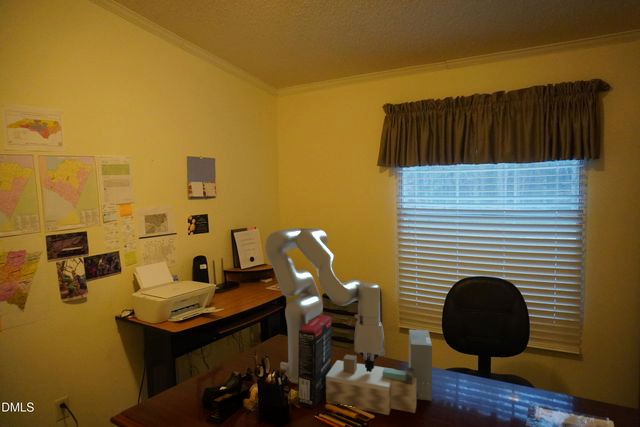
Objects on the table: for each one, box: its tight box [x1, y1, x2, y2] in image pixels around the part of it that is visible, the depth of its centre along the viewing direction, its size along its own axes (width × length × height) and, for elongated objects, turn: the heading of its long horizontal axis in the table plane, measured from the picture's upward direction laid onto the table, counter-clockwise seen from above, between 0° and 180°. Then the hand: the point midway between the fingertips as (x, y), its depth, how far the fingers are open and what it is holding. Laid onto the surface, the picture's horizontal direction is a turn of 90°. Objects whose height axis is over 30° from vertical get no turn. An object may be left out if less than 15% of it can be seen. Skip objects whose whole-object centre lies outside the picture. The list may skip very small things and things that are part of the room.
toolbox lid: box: [326, 353, 396, 391], centre depth 129 cm, size 22×13×6 cm, turn 69°
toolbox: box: [325, 367, 417, 416], centre depth 128 cm, size 30×13×13 cm, turn 69°
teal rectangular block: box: [383, 367, 413, 381], centre depth 125 cm, size 10×3×2 cm, turn 69°
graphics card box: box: [297, 314, 332, 409], centre depth 132 cm, size 17×7×27 cm, turn 159°
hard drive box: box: [408, 329, 433, 401], centre depth 135 cm, size 16×8×20 cm, turn 168°
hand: (369, 370), depth 128 cm, fingers closed
